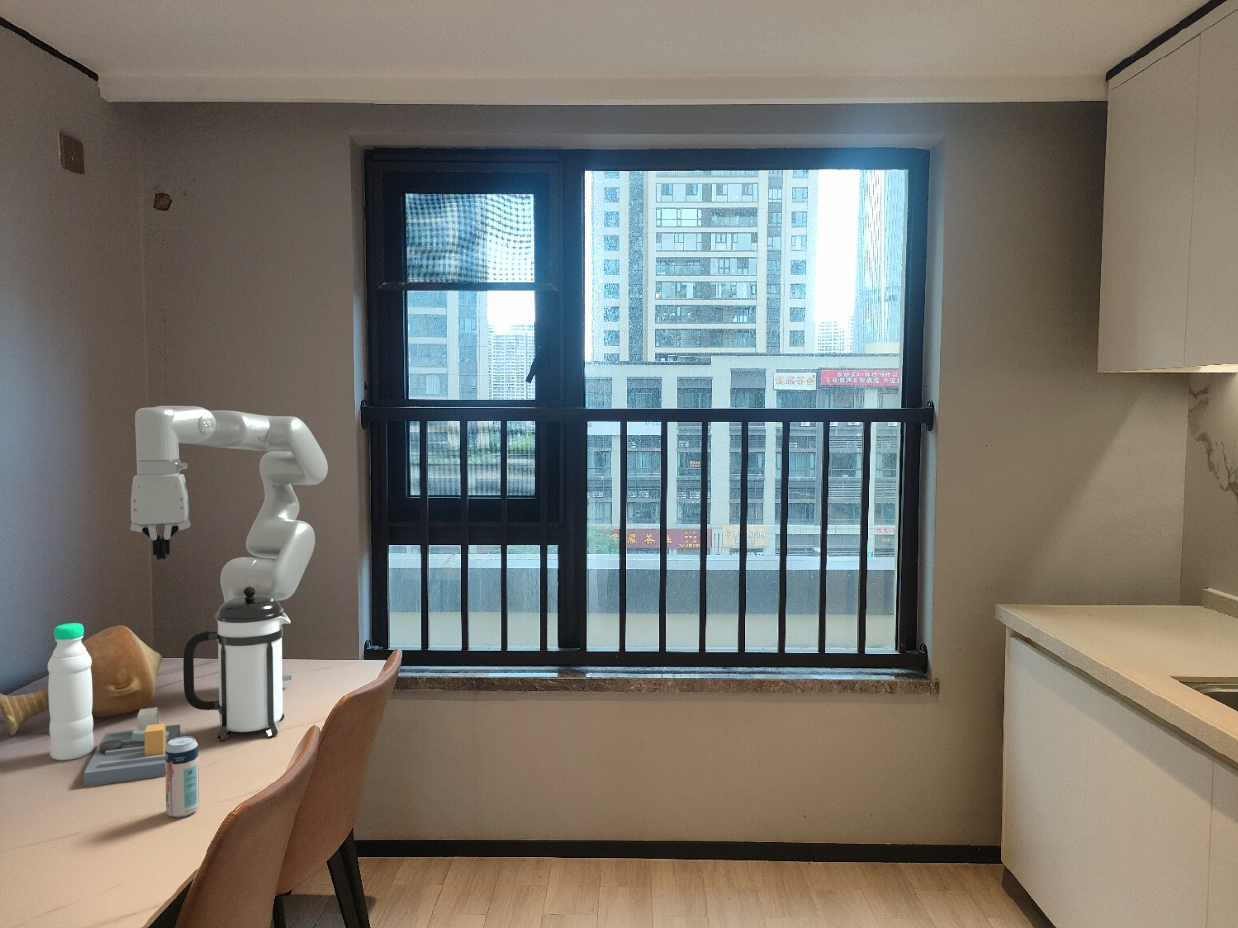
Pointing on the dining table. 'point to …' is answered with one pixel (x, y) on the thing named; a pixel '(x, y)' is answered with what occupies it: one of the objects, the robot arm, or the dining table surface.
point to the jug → (101, 679)
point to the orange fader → (155, 739)
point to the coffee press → (244, 665)
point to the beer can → (182, 776)
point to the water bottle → (70, 695)
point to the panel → (125, 759)
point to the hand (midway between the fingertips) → (162, 558)
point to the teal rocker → (142, 735)
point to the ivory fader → (147, 717)
